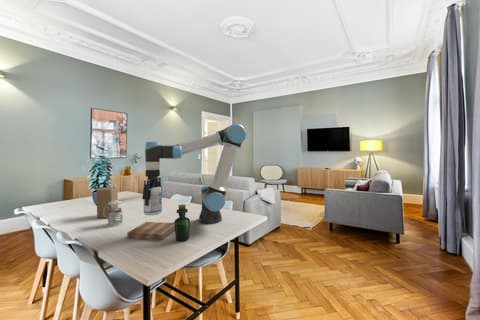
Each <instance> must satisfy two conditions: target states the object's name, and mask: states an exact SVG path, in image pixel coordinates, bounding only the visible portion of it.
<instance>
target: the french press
mask: <svg viewBox="0 0 480 320" xmlns="http://www.w3.org/2000/svg"><path fill="white" fill-rule="evenodd" d="M112 187H116V188H118V187H117V185H116V184H114V185H113V186H112ZM121 204H123V201H121V200H119V199H118V200H114V201H111V202H109V203H108V205H118V206H119V205H121ZM107 207H108V206H106V207H105V208H104V209H106V208H107ZM108 209H109V208H108ZM103 211H105V210H103ZM109 211H110V212H108V217H106V218H105V219H107V223H108V224H107V225H106V227H108V228H117V227H120V226H124V224H125V222H124V221H123V220H124V219H123V210H122V207H118V208H112V209H109ZM112 212H114V213H112ZM103 215H104V213H103ZM114 215H115V216H114ZM112 216H113V217H112ZM104 217H105V215H104Z"/></svg>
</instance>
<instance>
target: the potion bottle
mask: <svg viewBox="0 0 480 320" xmlns="http://www.w3.org/2000/svg"><path fill="white" fill-rule="evenodd" d="M186 207H187V205H186V204H183V203H182V204H178V209H176V211H175V213H177V214H178V217H177V218H176V219H175V220H174V222H173V223H174V226H175V230H174V232H175V233H174V234H175V240H176V242H181V243H182V242H187V241H188V240H189V238H190V229H191V219H189V217H187V216H186V213H189V212H188V209H187V208H186Z"/></svg>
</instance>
